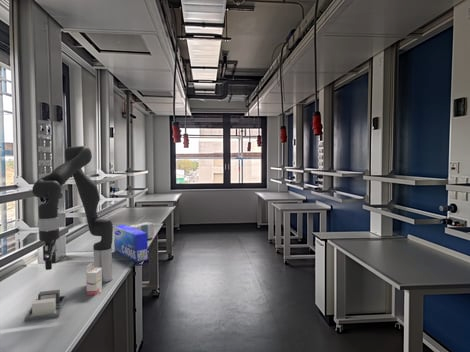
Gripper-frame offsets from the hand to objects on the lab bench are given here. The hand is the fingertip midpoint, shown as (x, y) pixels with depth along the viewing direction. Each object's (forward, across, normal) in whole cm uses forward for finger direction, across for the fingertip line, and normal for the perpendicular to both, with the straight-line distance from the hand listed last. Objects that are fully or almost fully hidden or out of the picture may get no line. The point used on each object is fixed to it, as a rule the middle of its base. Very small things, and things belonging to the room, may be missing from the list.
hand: (50, 266), depth 149 cm
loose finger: (+19, +2, -3) cm, 19 cm away
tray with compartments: (+21, -3, -3) cm, 21 cm away
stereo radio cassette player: (+23, -133, +42) cm, 141 cm away
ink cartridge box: (+21, -19, +15) cm, 32 cm away
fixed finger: (+20, -9, -3) cm, 22 cm away
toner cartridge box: (+23, -87, +33) cm, 95 cm away
